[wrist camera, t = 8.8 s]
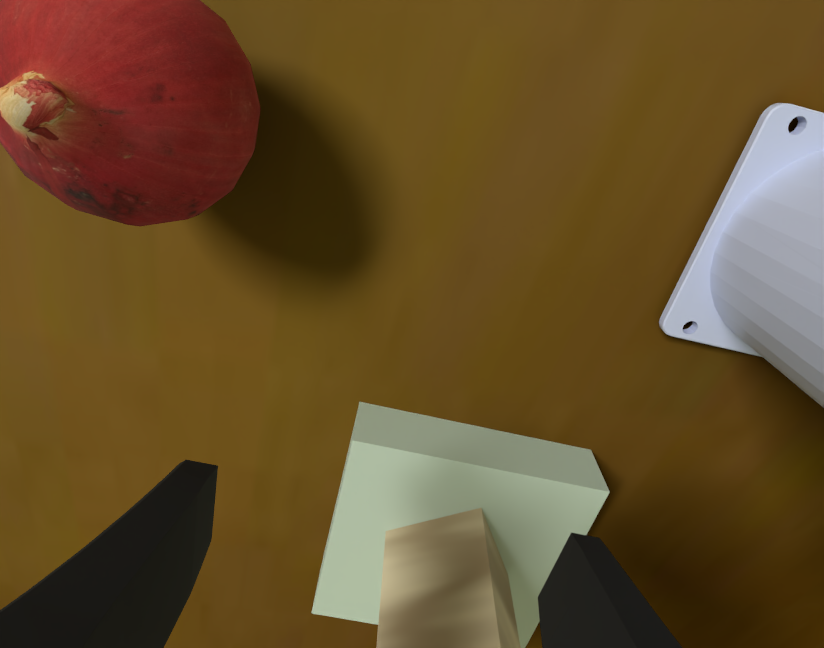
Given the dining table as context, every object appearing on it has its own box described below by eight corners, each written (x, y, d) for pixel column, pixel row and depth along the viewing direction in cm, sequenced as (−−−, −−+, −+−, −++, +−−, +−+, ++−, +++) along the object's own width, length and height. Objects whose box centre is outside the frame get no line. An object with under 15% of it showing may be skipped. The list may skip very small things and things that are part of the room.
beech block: (481, 507, 20) (503, 666, 15) (507, 574, 22) (536, 739, 16) (385, 531, 21) (373, 691, 15) (418, 594, 22) (417, 759, 17)
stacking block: (587, 441, 22) (609, 491, 20) (513, 591, 27) (524, 649, 24) (361, 394, 21) (352, 440, 19) (322, 556, 26) (311, 613, 23)
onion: (271, 213, 18) (166, 310, 10) (98, 163, 17) (-141, 229, 10) (304, 25, 15) (197, -18, 8) (103, -42, 15) (-210, -155, 7)
